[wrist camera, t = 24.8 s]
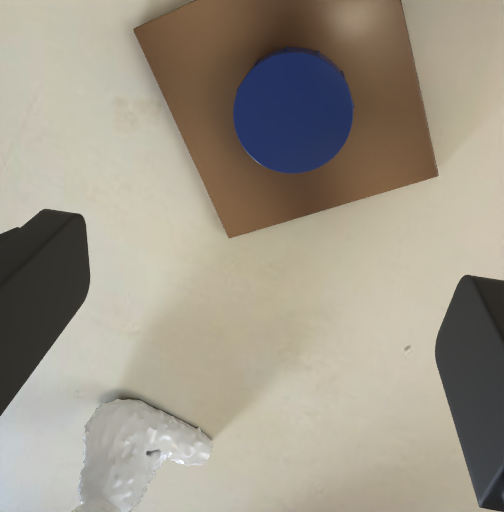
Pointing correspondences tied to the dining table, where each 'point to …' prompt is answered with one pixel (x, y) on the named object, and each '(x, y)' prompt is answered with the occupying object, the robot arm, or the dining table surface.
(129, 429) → the white creature statuette
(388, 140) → the cork coaster
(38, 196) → the dining table surface
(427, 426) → the dining table surface
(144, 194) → the dining table surface
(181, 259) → the dining table surface
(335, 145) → the jar lid
